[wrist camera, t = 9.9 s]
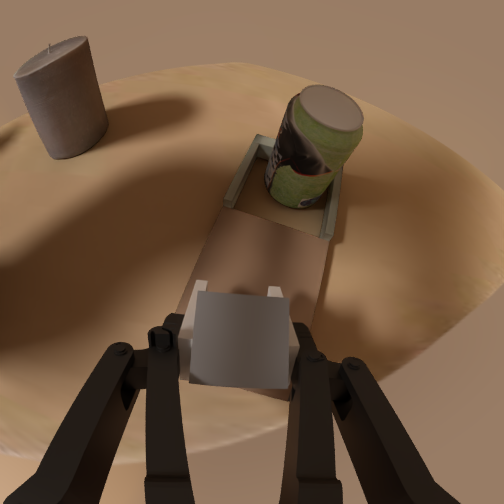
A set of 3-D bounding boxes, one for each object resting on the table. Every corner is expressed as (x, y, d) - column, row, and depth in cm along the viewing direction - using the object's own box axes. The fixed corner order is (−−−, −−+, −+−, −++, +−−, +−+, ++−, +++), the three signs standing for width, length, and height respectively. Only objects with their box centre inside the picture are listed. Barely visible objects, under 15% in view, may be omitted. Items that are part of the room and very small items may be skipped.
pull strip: (158, 363, 18) (111, 348, 10) (254, 147, 30) (267, 75, 21) (284, 406, 18) (336, 422, 9) (337, 174, 29) (369, 110, 21)
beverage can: (303, 164, 29) (336, 74, 19) (334, 216, 26) (389, 125, 16) (251, 173, 28) (270, 71, 17) (279, 230, 25) (319, 125, 14)
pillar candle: (95, 108, 32) (75, 25, 18) (119, 131, 29) (97, 28, 16) (42, 142, 28) (9, 62, 14) (56, 173, 25) (10, 74, 12)
